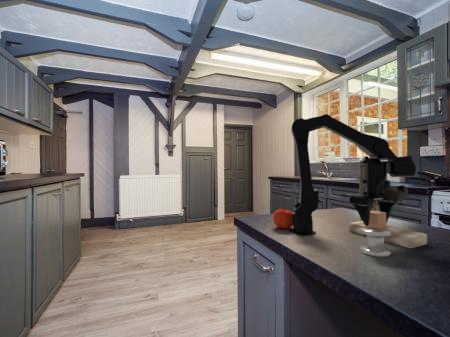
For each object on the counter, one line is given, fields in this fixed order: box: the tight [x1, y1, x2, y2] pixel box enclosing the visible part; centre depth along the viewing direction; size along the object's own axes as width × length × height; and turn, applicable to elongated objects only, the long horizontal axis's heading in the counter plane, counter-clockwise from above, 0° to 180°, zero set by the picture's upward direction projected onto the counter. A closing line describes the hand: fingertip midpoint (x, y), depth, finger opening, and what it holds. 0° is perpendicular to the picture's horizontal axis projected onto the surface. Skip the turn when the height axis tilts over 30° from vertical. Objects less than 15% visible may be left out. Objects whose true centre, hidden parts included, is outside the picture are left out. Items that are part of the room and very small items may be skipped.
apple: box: [272, 206, 294, 230], centre depth 94 cm, size 8×8×8 cm
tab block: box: [366, 210, 387, 229], centre depth 82 cm, size 4×4×8 cm
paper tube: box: [358, 163, 380, 221], centre depth 98 cm, size 7×7×25 cm
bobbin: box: [360, 227, 392, 258], centre depth 67 cm, size 7×7×6 cm
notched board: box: [348, 220, 428, 249], centre depth 81 cm, size 20×8×3 cm, turn 24°
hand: (375, 224), depth 82 cm, fingers open, 9 cm apart
